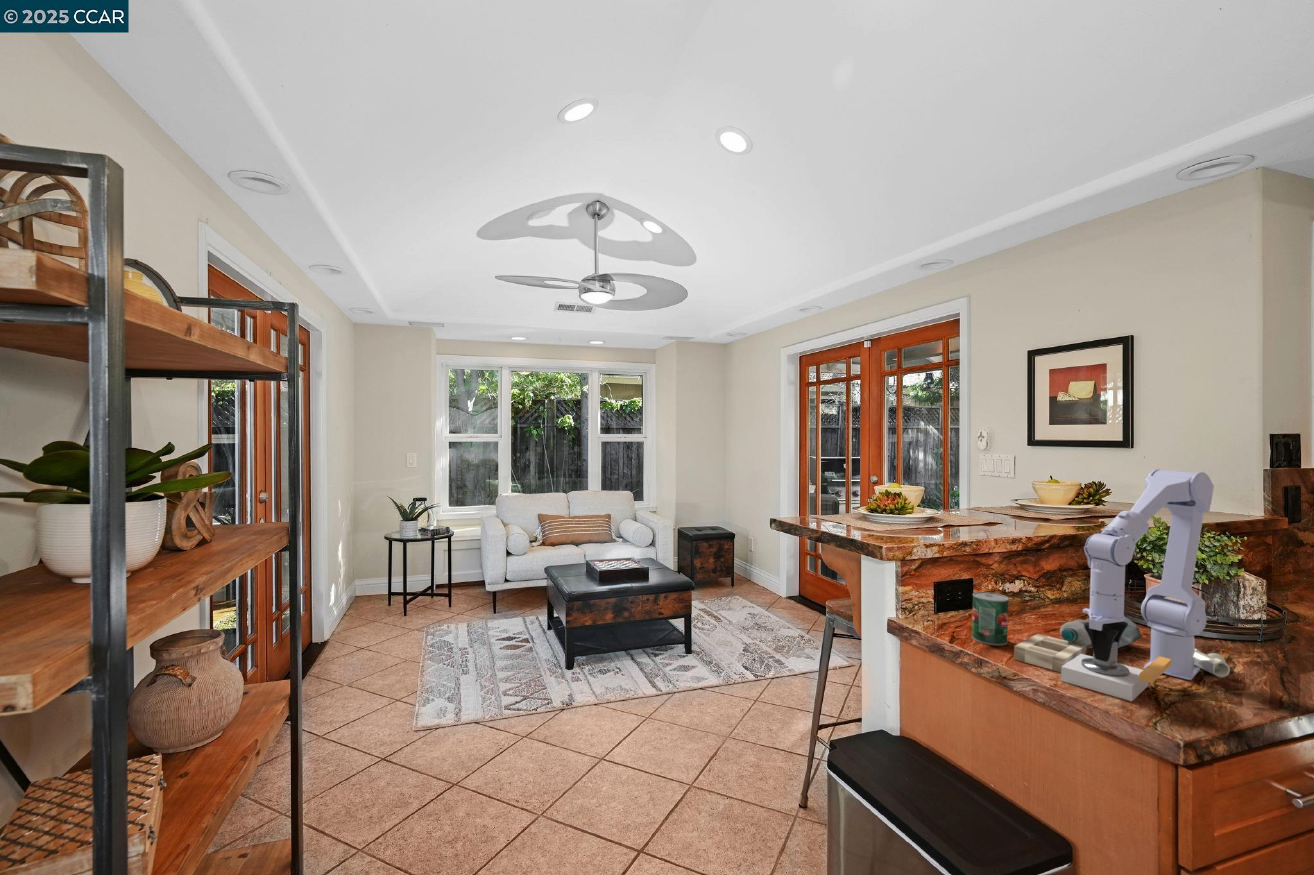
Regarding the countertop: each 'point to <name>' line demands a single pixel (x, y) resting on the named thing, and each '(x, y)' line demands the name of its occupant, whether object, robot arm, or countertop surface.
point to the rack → (1047, 651)
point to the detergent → (1080, 636)
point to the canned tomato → (990, 618)
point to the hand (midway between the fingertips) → (1105, 657)
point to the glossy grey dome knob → (1106, 664)
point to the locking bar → (1155, 669)
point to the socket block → (1103, 680)
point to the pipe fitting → (1212, 663)
